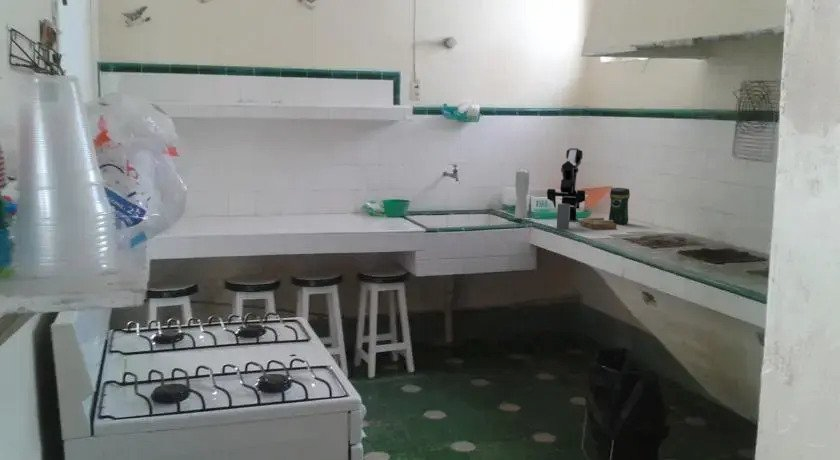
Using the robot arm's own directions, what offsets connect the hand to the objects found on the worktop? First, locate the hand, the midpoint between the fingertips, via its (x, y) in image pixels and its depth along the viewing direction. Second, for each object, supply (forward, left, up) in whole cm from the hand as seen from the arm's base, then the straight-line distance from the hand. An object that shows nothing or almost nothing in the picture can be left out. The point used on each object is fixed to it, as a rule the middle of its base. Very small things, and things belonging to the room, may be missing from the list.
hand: (564, 208), depth 377 cm
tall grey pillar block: (+2, -2, -10) cm, 10 cm away
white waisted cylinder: (-32, -2, -10) cm, 34 cm away
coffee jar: (-1, +37, -10) cm, 38 cm away
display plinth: (+6, +17, -10) cm, 21 cm away
